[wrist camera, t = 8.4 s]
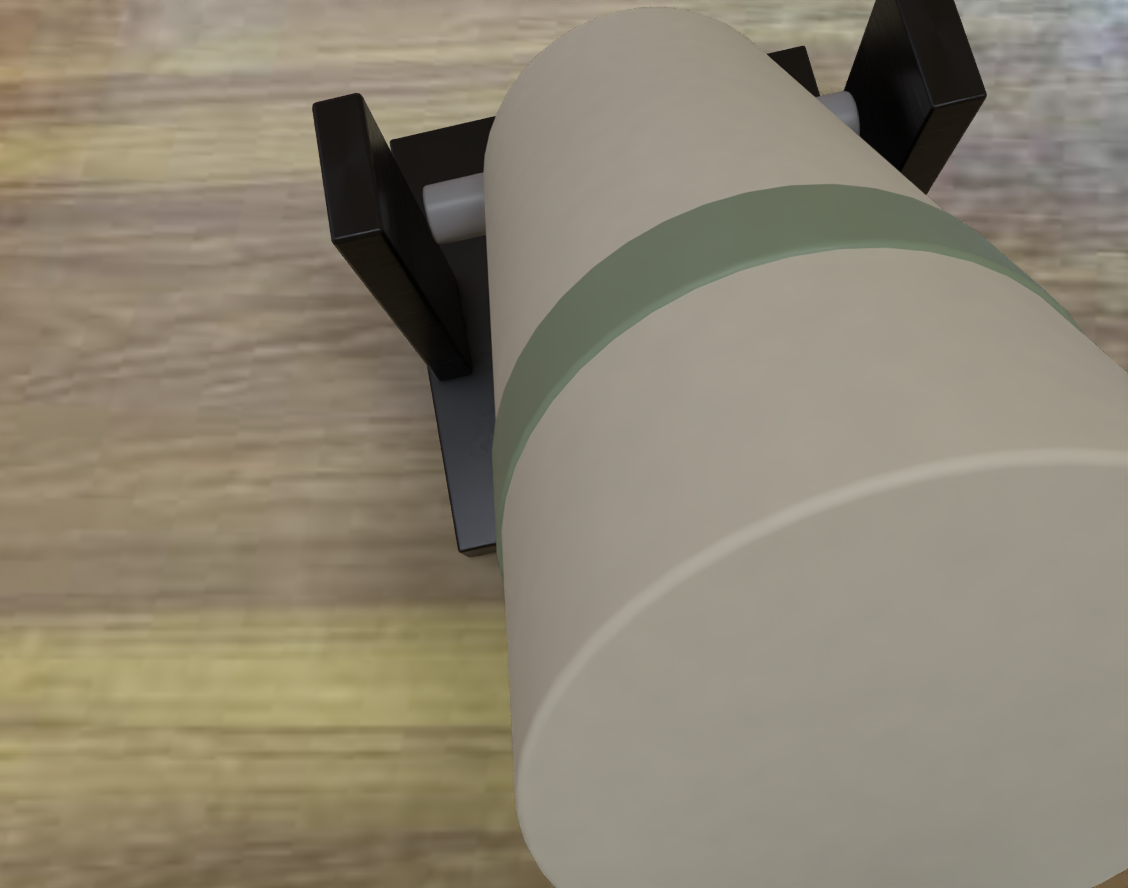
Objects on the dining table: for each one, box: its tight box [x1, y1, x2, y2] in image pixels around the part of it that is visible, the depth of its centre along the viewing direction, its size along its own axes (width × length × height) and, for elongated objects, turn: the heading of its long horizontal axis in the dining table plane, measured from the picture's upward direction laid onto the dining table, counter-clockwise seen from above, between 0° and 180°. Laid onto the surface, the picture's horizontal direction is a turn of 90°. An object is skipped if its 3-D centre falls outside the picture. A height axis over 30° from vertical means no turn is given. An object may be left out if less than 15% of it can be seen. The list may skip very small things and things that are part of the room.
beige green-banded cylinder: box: [422, 7, 1128, 888], centre depth 11 cm, size 12×7×5 cm
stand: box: [312, 0, 987, 557], centre depth 17 cm, size 14×10×8 cm
